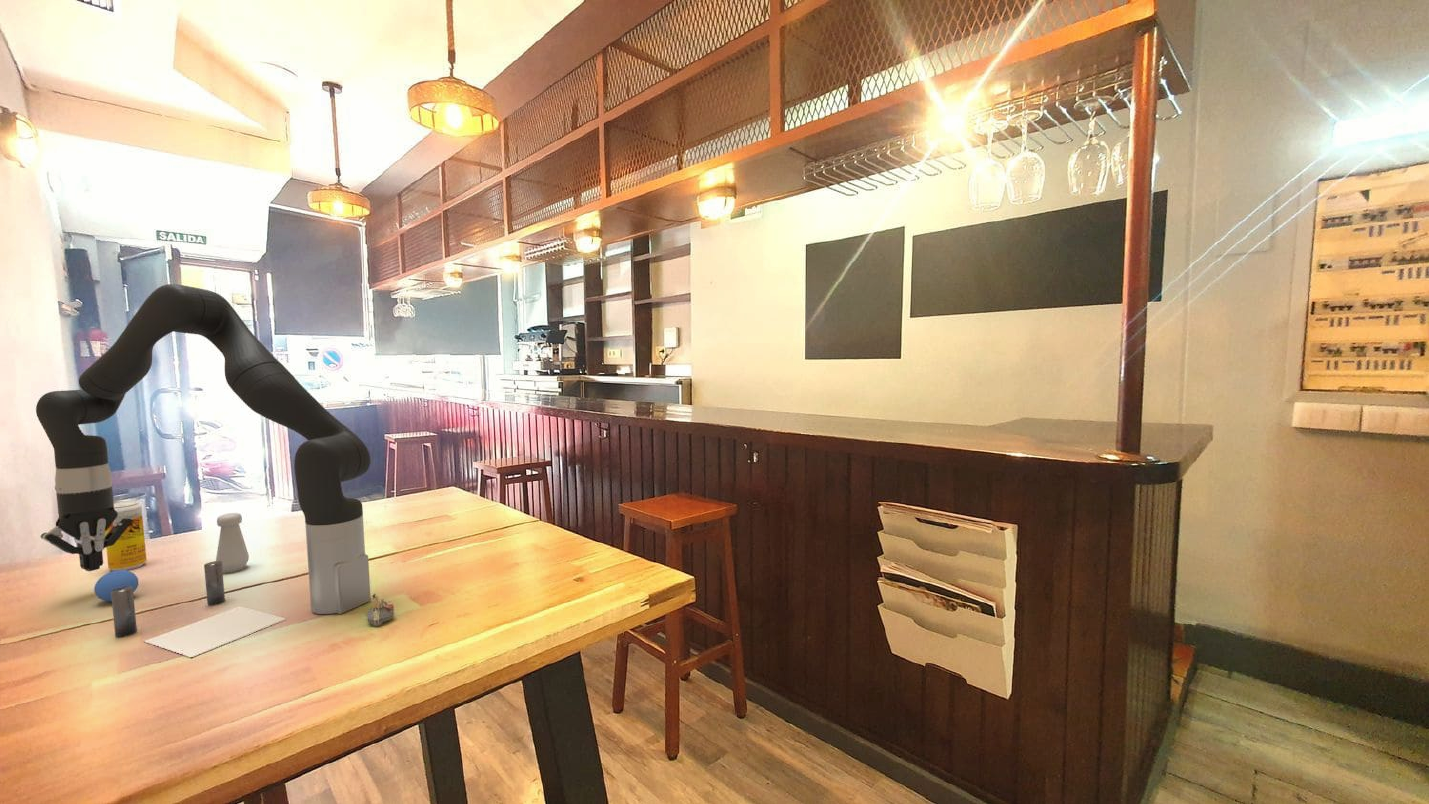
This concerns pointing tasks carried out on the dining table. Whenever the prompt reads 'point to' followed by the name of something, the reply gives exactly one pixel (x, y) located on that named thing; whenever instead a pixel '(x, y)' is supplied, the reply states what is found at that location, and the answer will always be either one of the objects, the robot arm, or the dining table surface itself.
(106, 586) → the ball
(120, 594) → the left post
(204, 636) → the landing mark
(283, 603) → the dining table surface
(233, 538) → the salt shaker
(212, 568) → the right post
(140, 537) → the beer can
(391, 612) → the figurine
